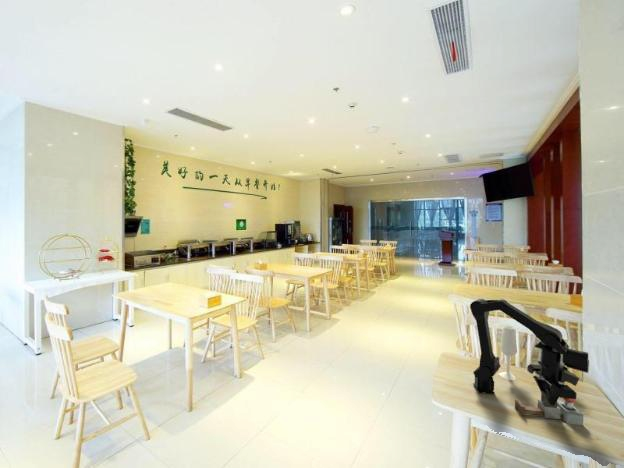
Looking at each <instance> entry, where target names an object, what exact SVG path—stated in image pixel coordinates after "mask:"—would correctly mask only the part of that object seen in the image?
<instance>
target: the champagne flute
mask: <svg viewBox="0 0 624 468" xmlns="http://www.w3.org/2000/svg"><path fill="white" fill-rule="evenodd" d="M501 331H502V333H501V338H500V345H499V350H500V351H501V353H503V354H504V356H506V364H505V365H506V367H505V371H504V372H500V373H498V374H499V377H501V378H502V379H505V380H508V381H509V380H510V381H515V380H517V378H516V376H514V375H513V374H512V373H510V363H511V362H510V361H511V360H510V359H511V357H513V356H515V355H516V354H517V353H518V347H517V334H516V333H517V332H516V326H512V325H509V324H507V325H506V324H505V325H503V326H502V330H501Z"/></svg>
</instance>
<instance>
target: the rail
mask: <svg viewBox="0 0 624 468" xmlns="http://www.w3.org/2000/svg"><path fill="white" fill-rule="evenodd" d="M514 409H515V410H516V412H518V414H519V415H520V416H521V417H525V416H526V415H527V416H535V417H542V418H545V417H544V411H543V410H542V409H541V408H540V407H538V406H530V405H524V404H523V403H522V402H521V401H520V400H519V399H515V400H514ZM561 419H562V420H563V413H562V412H561V411H560V420H561Z"/></svg>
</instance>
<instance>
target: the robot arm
mask: <svg viewBox="0 0 624 468" xmlns="http://www.w3.org/2000/svg"><path fill="white" fill-rule="evenodd" d="M469 306H470V307H469V308H470V312H471V314H472V316H473V318H474V320H475V322H476V328H477V333H478V334H477V335H478V342H479V347H480V348H479V349H480V358H479V366H478V367H477V368H476V369H474V370H473V375H474V383H472V385H473V387H474V388H475V390H476V392H478V393H479V394H480V393H481V394H491V395H495V381H494V376H495V375H496V374H497V373H498V371H500V368H501V364H500V357H499V356H495V354H494V350H493V345H492V337H491V331H490V326H489V317H490V316H489V315H490V312H495V311H500V312H502V313H504V314H505V315H507V316H508V317H510V318H511V319H513V320H515V322H518V324H521V325H522V326H523V327H525V328H526V329H528V330H529V331H531V333H532V334H533V335H534V336H535V337H536V338H537V339H538V340H539V341H540V342H539V341H538V342H536V343H535V345H534V347H535V348H537V349H539V348H540V349H541V361H538V360H537V364H534V363H533V364H532V363H530V364H527V366H526V367H527V368H526V369H527V372H528V373H529V374H531V375H532V374H535V375H533V376H532V378H533V379H534V381H535V383H536V385H537V387H538V389H539V391H540V392H541V391H546V393H547V396H548V399H549V402H550V405H553V406H554V405H555V403H556V402H557V401H559V398H561V399H563V398H569V399H576V400H577V392H576V391H575V390H574V389H573V388H571V386H569V385H568V384H565V383H569V384H571V385H573V386H575V387H576V386H577V385H578V382H579V380H580V377H578V376H577V375H576V374H574V373H573V372H571V371H570V370H569V369H573V370H576V371H579V372H584V373H586V374H589V370H590V359H589V352H586V351H580V350H577V349H572V348H570V346H569V344H568V343H567V341H565V340H564V338H563V333H562V332H561V330H559V329H557V328H555V327H553V326H551V325H549V324H547V323H544V322H541V321H538V320H536V319H535V318H533V317H532V316H530V315H528V314H526V313H525V312H524V311H522V310H521V309H518V308H517V307H516V306H514V305H513V304H511V303H509V302H508V300H505V299H504V298H503V299H502V298H501V299H484V298H478V299H475V300H474V301H472V302H471V303H470V304H469ZM561 354H563V363H564V364H565V366H563V365H561ZM538 364H540V365H538ZM568 368H569V369H568ZM559 382H562V383H564V385H562V384H559Z"/></svg>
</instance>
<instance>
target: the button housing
mask: <svg viewBox="0 0 624 468" xmlns="http://www.w3.org/2000/svg"><path fill="white" fill-rule="evenodd" d="M557 406H558V407H559V408H560V411H561V412H562V413H563V419H562V420H563V421H564V422H565V423H566V424H569V425H579V426H584V416H585V415H584V414H583V412H581V411H580V410H579V409H578V408H576V407H575V406H573V411H572V410H566V409H565V408H564V401H560V400H557Z"/></svg>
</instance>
